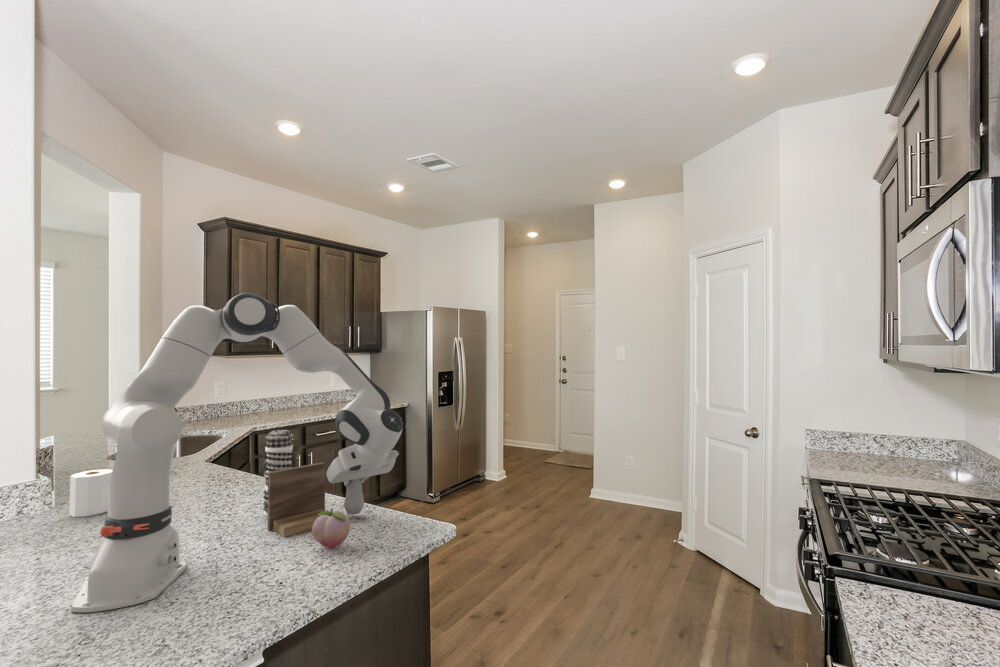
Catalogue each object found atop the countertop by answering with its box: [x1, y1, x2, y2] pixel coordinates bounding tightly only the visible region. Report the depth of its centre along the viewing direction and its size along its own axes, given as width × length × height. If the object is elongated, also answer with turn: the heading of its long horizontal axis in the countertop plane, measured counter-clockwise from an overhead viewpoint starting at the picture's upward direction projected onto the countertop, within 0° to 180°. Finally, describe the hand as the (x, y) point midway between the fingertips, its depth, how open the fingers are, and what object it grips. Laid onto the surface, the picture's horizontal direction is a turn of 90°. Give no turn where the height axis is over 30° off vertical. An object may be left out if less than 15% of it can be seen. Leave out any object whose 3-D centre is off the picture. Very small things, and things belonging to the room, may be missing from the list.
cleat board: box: [267, 461, 326, 538], centre depth 137 cm, size 9×16×16 cm, turn 136°
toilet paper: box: [68, 468, 113, 518], centre depth 150 cm, size 10×10×12 cm
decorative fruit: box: [311, 508, 351, 549], centre depth 121 cm, size 9×8×10 cm
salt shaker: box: [343, 478, 365, 515], centre depth 144 cm, size 6×6×13 cm
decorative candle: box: [262, 429, 296, 517], centre depth 149 cm, size 9×9×25 cm
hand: (353, 482), depth 145 cm, fingers closed on salt shaker, 3 cm apart
